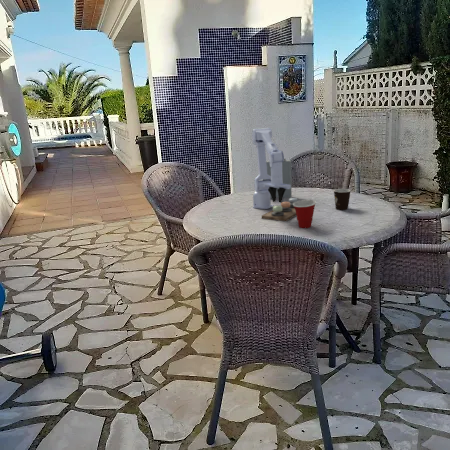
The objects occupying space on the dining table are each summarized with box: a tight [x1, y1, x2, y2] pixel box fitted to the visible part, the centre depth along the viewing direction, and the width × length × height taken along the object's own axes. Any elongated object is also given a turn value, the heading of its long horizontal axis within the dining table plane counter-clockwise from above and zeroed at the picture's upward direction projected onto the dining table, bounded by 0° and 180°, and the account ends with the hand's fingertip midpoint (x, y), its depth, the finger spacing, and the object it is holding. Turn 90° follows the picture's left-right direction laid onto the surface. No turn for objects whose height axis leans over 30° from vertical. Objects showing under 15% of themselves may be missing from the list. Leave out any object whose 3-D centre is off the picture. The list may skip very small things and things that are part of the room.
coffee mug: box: [333, 188, 352, 211], centre depth 228 cm, size 12×9×10 cm
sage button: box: [272, 205, 282, 212], centre depth 218 cm, size 5×5×2 cm
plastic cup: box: [293, 199, 317, 229], centre depth 200 cm, size 11×11×12 cm
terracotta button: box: [280, 201, 291, 208], centre depth 225 cm, size 5×5×2 cm
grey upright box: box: [263, 158, 293, 199], centre depth 260 cm, size 17×5×25 cm, turn 81°
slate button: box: [288, 197, 299, 204], centre depth 232 cm, size 5×5×2 cm
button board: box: [261, 203, 297, 222], centre depth 226 cm, size 14×27×2 cm, turn 145°
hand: (277, 201), depth 217 cm, fingers open, 3 cm apart
